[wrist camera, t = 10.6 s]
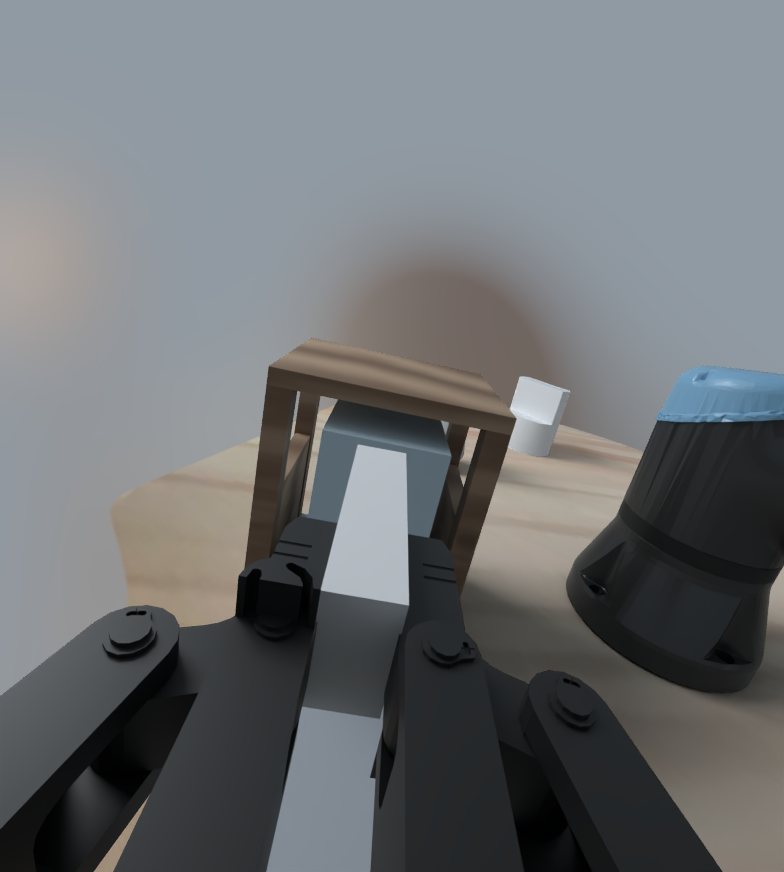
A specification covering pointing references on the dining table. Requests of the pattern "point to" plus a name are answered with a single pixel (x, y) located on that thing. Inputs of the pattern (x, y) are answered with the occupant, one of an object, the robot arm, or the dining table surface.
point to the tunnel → (388, 389)
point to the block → (390, 433)
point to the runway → (328, 795)
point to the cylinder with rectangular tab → (536, 416)
